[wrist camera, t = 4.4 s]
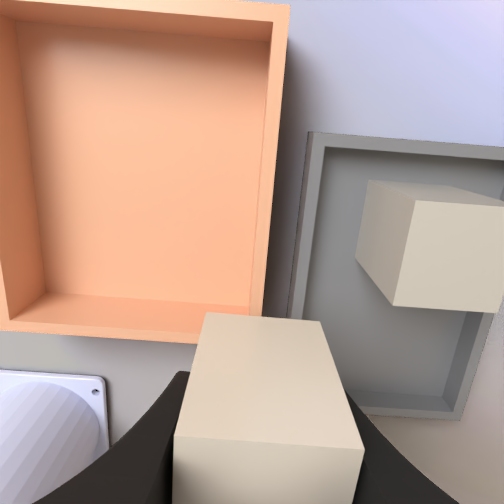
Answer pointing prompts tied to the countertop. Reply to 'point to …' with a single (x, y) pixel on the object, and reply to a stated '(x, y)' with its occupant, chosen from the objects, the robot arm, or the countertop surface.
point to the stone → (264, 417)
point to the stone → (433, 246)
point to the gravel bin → (136, 163)
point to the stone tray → (367, 292)
